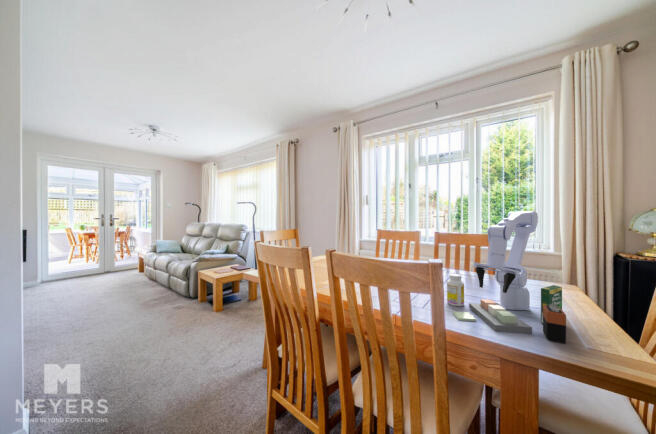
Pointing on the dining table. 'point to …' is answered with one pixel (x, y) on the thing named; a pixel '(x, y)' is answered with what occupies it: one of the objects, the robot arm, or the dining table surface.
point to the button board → (496, 324)
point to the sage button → (506, 317)
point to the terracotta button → (487, 303)
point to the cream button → (495, 309)
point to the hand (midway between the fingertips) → (492, 290)
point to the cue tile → (464, 316)
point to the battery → (554, 323)
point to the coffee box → (551, 297)
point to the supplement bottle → (455, 290)
